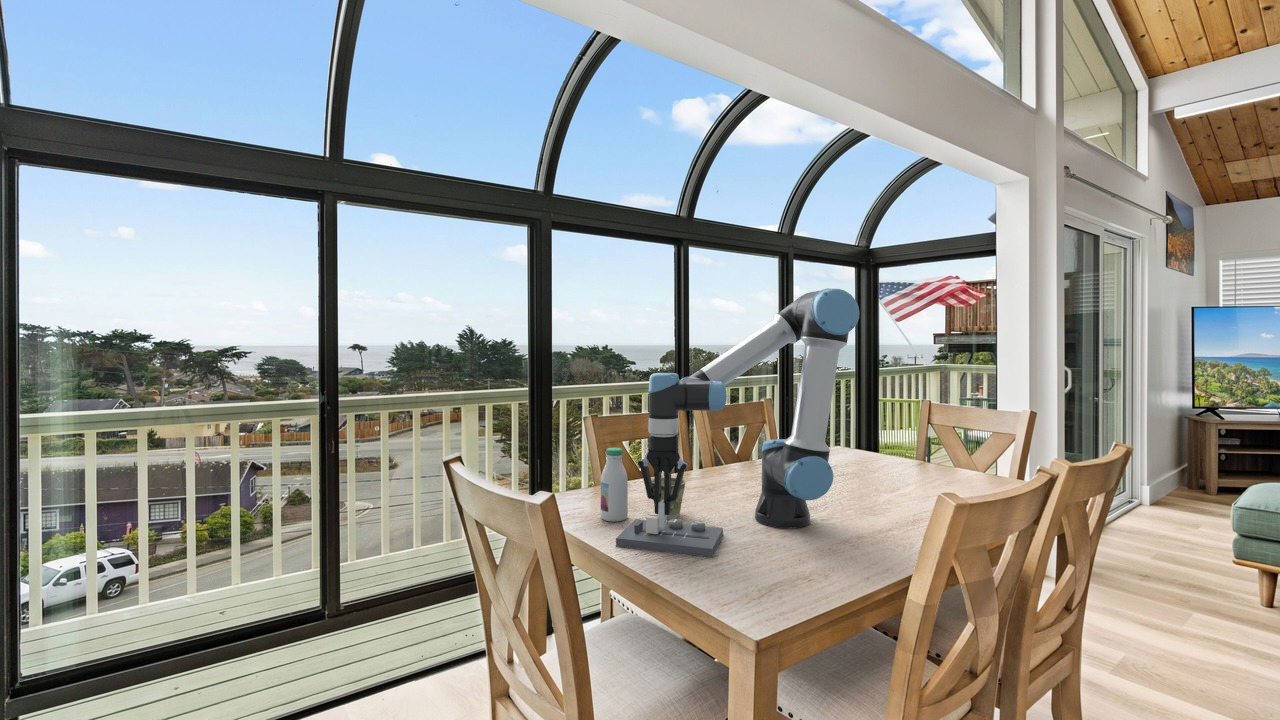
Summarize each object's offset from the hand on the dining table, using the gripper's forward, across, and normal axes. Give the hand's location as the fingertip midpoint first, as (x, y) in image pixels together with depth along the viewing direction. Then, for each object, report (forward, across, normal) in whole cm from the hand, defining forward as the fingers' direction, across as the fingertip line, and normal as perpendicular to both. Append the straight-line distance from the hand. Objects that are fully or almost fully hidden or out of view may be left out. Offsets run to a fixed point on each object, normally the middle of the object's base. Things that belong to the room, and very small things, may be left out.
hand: (662, 526), depth 147 cm
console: (+4, -2, -1) cm, 4 cm away
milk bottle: (+4, +18, -14) cm, 23 cm away
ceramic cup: (+4, +4, -23) cm, 24 cm away
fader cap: (+1, +2, 0) cm, 3 cm away
